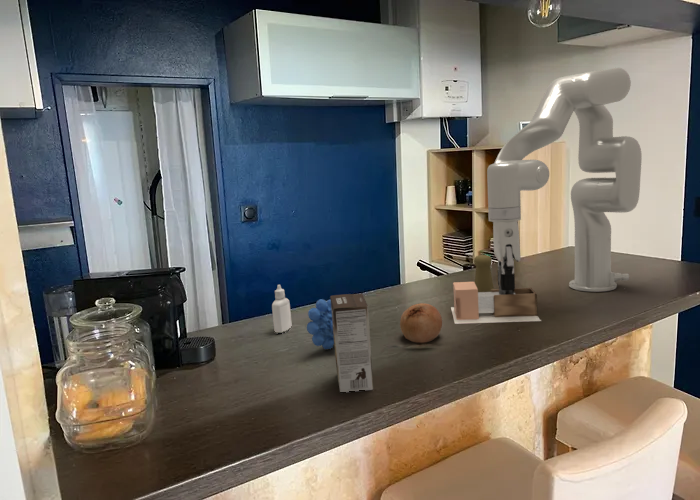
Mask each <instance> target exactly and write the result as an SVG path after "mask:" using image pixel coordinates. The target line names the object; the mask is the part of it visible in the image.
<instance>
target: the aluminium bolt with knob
mask: <svg viewBox="0 0 700 500" xmlns="http://www.w3.org/2000/svg"><path fill="white" fill-rule="evenodd" d="M505 265H507V264H504V266H505ZM498 274H499V285H498V289H499V292H478V309H479V313H495V310H494V295H507V294H515V293H514V290H501V274H502V266H501V265H499V266H498V265H497V275H498Z"/></svg>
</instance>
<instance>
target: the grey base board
mask: <svg viewBox="0 0 700 500" xmlns="http://www.w3.org/2000/svg"><path fill="white" fill-rule="evenodd" d="M450 309H451V313H452V317H453V322H454V324H456V325H457V324H459V325H460V324H487V323H488V324H489V323H490V324H491V323H493V324H494V323H521V322H542V319H540V317H539V316H538V315H537V316H516V317H495V316H494V314H493V313H479V319H465V320H457V319H456V315H455V311H454V306H451V307H450Z"/></svg>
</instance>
